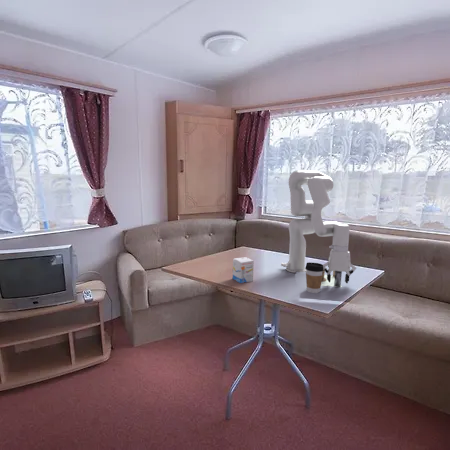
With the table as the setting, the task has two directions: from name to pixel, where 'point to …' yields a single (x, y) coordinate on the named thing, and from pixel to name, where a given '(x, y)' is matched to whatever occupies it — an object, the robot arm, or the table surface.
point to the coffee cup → (314, 277)
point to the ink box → (243, 269)
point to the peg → (337, 278)
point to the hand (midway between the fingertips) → (337, 281)
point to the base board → (327, 283)
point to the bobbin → (323, 276)
